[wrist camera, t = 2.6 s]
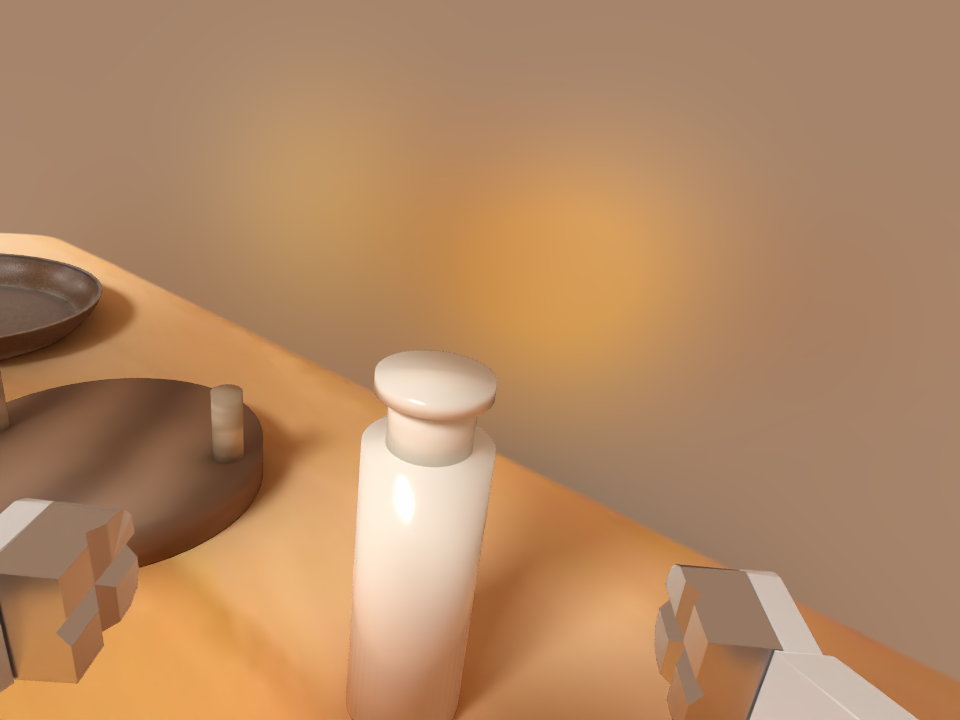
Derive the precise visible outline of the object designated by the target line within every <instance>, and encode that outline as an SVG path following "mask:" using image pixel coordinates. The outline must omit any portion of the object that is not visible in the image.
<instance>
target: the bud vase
mask: <svg viewBox="0 0 960 720" xmlns="http://www.w3.org/2000/svg"><path fill="white" fill-rule="evenodd" d="M496 388H497V378H496V375H495V374H494V373H493V371H492V370H491V369H490V368H488V367H487V366H486V365H484V364H482V363H481V362H479V361H477V360H474V359H472V358H469V357H466V356H463V355H459V354H455V353H451V352H444V351H435V350H413V351H405V352H401V353H396V354H393V355H391V356H388V357H386V358H384V359H383V360H381V361H380V362H379V363H378V364H377V366H376V369H375V378H374V392H375V395H376V396H377V398H378V399H379V400H380V401H381V402H382V403H383V404H385V405H386V406H388V412H387V416H385V417H382V418H380V419H378V420H376V421H375V422H373V423H372V424H371V425H369V426H368V427H367V429H366V430H365V431H364V433H363V435H362V439H361V455H360V471H359V488H358V504H357V521H356V537H355V554H354V570H353V587H352V603H351V620H350V637H349V653H348V670H347V686H346V704H347V709H348V712H349V715H350V717H351V719H352V720H452V719H453V717H454V715H455V713H456V709H457V705H458V699H459V692H460V686H461V679H462V672H463V666H464V659H465V653H466V646H467V640H468V633H469V626H470V620H471V613H472V607H473V600H474V594H475V587H476V580H477V574H478V567H479V561H480V554H481V547H482V541H483V534H484V528H485V521H486V515H487V508H488V501H489V495H490V488H491V482H492V475H493V469H494V462H495V455H496V447H495V443H494V441H493V440H492V438H491V437H490V435H489V434H488V433H487V432H485V430H483V429H482V428H480V427H479V426H478V425H476V422H477V416H478V415H480V414H482V413H484V412H486V411H487V410H488V409H490V408H491V407H492V405H493V404H494V401H495V395H496Z"/></svg>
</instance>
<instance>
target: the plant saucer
mask: <svg viewBox="0 0 960 720" xmlns="http://www.w3.org/2000/svg"><path fill="white" fill-rule="evenodd" d="M101 294H102V285H101V283H100V282H99V280H98V279H97V278H96V277H94V276H93V275H92V274H91V273H89V272H87V271H85V270H83V269H81V268H78V267H76V266H73V265H70V264H66V263H63V262H59V261H54V260H50V259H44V258H38V257H31V256H24V255H14V254H1V253H0V360H2V359H7V358H11V357H15V356H18V355H22V354H25V353H29V352H32V351H35V350H38V349H40V348H43V347H45V346H48V345H50V344H52V343H54V342H56V341H58V340H60V339H61V338H63V337H65V336H66V335H67V334H69V333H70V332H72V331H73V330H74V329H75V328H76V327H78V326H79V325H80V324H81V323H82V322H83V321H84V320H85V319H86V318H87V317H88V316H89V314H90V313H91V312H92V311H93V309H94V308H95V306H96V305H97V303H98V301H99V299H100V297H101Z"/></svg>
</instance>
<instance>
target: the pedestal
mask: <svg viewBox="0 0 960 720" xmlns="http://www.w3.org/2000/svg"><path fill="white" fill-rule="evenodd" d="M262 477H263V436H262V428H261V425H260V422H259V420H258V418H257V417H256V415H255V414H254V413H253V412H252V411H251V410H250V409H249V407H247V406H246V405H245V404H243V390H242V389H241V388H240V387H238V386H236V385H220V386H216V387H214V388H209V387H206V386H203V385H198V384H194V383H189V382H182V381H176V380H166V379H150V378H123V379H108V380H98V381H90V382H83V383H77V384H71V385H66V386H61V387H57V388H52V389H48V390H44V391H41V392H37V393H33V394H30V395H27V396H24V397H21V398H18V399H15V400H12V401H10V402H7V403H6V401H5V395H4V389H3V383H2V378H1V372H0V514H1V513H2V512H3V511H4V510H5V509H6V508H8V507H9V506H10V505H11V504H12V503H13V502H14V501H17V500H20V499H24V498H31V499H40V500H49V501H55V502H59V501H61V502H69V503H77V504H85V505H93V506H102V507H110V508H118V509H125V510H126V511H127V512H129V513H130V514H131V515H132V521H133V527H134V534H133V535H132V537H131V538H130V539H129V541H128V542H127V543H126V545H127V546H128V547H129V548H130V549H131V550H132V551H133V553H134V554H135V555H136V556H137V557H138V566H139V567H141V566H145V565H149V564H152V563H155V562H158V561H161V560H164V559H167V558H170V557H172V556H175V555H177V554H180V553H182V552H184V551H187V550H189V549H191V548H193V547H195V546H197V545H199V544H201V543H203V542H205V541H207V540H208V539H210V538H212V537H213V536H215V535H216V534H218V533H219V532H221V531H222V530H224V529H225V528H227V527H228V526H229V525H230V524H232V523H233V522H234V521H235V520H236V519H238V518H239V517H240V516H241V515H242V514H243V512H244V511H245V510H246V509H247V508H248V507H249V506H250V504H251V503H252V501H253V500H254V498H255V497H256V495H257V493H258V491H259V489H260V486H261V482H262Z"/></svg>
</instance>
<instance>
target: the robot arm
mask: <svg viewBox="0 0 960 720" xmlns="http://www.w3.org/2000/svg"><path fill="white" fill-rule="evenodd" d="M133 534H134V527H133V521H132V515H131V514H130V513H129V512H127V511H126V510H125V509H118V508H110V507H102V506H93V505H85V504H77V503H69V502H61V501H59V502H55V501H49V500H40V499H31V498H24V499H20V500H17V501H14V502H13V503H12V504H11V505H10V506H9V507H8V508H6V509H5V510H4V511H3V512H2V513H1V514H0V692H1V691H3V690H4V689H6V688H7V687H9V686H10V685H12V684H13V683H14V679H15V680H30V681H46V682H61V683H76V684H78V682H79V681H80V679H81V678H82V677H83V675H84V674H85V672H86V671H87V669H88V668H89V666H90V665H91V664H92V662H93V661H94V659H95V658H96V656H97V655H98V653H99V652H100V651H101V649H102V648H103V646H104V643H103V636H102V632H103V631H105V630H106V629H108V628H110V627H112V626H113V625H115V624H117V623H118V622H120V621H121V620H122V618H123V617H124V615H125V614H126V612H127V610H128V609H129V607H130V606H131V603H132V600H133V597H134V594H135V592H136V589H137V585H138V575H139V566H138V557H137V556H136V555H135V554H134V553H133V551H132V550H131V549H130V548H129V547H128V546H127V545H126V543H127V542H128V541H129V539H130V538H131V537H132V535H133ZM666 588H667V591H668V595H669V598H670V600H669V601H668V602H666V603H665V604H664V605H663V606H661V607H660V608H659V612H658V617H657V621H656V625H655V652H656V660H657V664H658V668H659V672H660V674H661V675H662V676H663V677H664V678H665V679H666V680H667V681H668V682H669V683H670V684H671V686H670V689H669V693H668V697H667V702H668V706H669V710H670V713H671V717H672V720H918V719H917V718H916V717H914V716H913V715H912V714H910V713H909V712H908V711H906V710H905V709H904V708H902V707H901V706H900V705H898V704H897V703H896V702H894V701H893V700H892V699H890V698H889V697H888V696H886V695H885V694H884V693H882V692H881V691H880V690H878V689H877V688H876V687H874V686H873V685H872V684H870V683H869V682H868V681H866V680H865V679H864V678H862V677H861V676H860V675H858V674H857V673H856V672H855V671H853V670H852V669H851V668H849V667H848V666H847V665H845V664H844V663H843V662H841V661H840V660H839V659H837V658H836V657H835V656H827V655H823V653H822V651H821V649H820V647H819V646H818V644H817V642H816V640H815V638H814V637H813V635H812V633H811V631H810V629H809V628H808V626H807V624H806V622H805V621H804V619H803V617H802V615H801V613H800V612H799V610H798V608H797V606H796V604H795V603H794V601H793V599H792V597H791V596H790V594H789V592H788V590H787V588H786V587H785V585H784V583H783V581H782V579H781V578H780V576H778V575H777V574H776V573H775V572H772V571H758V570H744V569H740V570H732V569H722V568H711V567H700V566H690V565H679V564H674V565H673V566H672V568H671V570H670V571H669V575H668V578H667V582H666Z"/></svg>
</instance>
